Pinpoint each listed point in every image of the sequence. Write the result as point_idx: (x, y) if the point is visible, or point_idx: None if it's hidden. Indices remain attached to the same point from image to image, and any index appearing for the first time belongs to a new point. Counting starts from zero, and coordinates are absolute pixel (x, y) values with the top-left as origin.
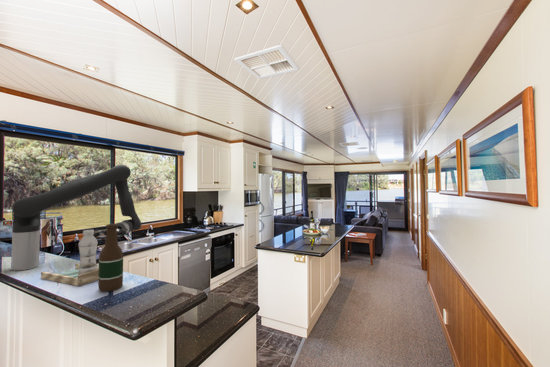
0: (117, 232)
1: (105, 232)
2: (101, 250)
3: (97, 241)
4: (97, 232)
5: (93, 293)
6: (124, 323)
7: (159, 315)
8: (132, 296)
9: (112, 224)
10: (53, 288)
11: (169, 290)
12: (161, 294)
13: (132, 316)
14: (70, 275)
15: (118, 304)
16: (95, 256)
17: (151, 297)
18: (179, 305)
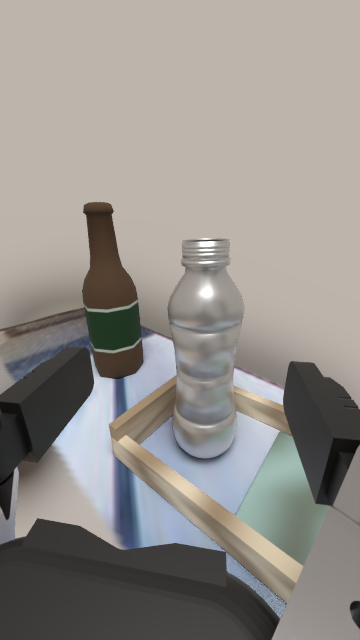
0: (3, 407)
1: (241, 585)
2: (129, 276)
3: (169, 308)
4: (330, 428)
5: (149, 354)
6: None
7: (69, 312)
8: (85, 338)
9: (95, 204)
10: (256, 387)
11: (24, 343)
12: (43, 337)
13: None
14: (300, 479)
15: None
16: (176, 367)
17: (61, 333)
18: (40, 319)
